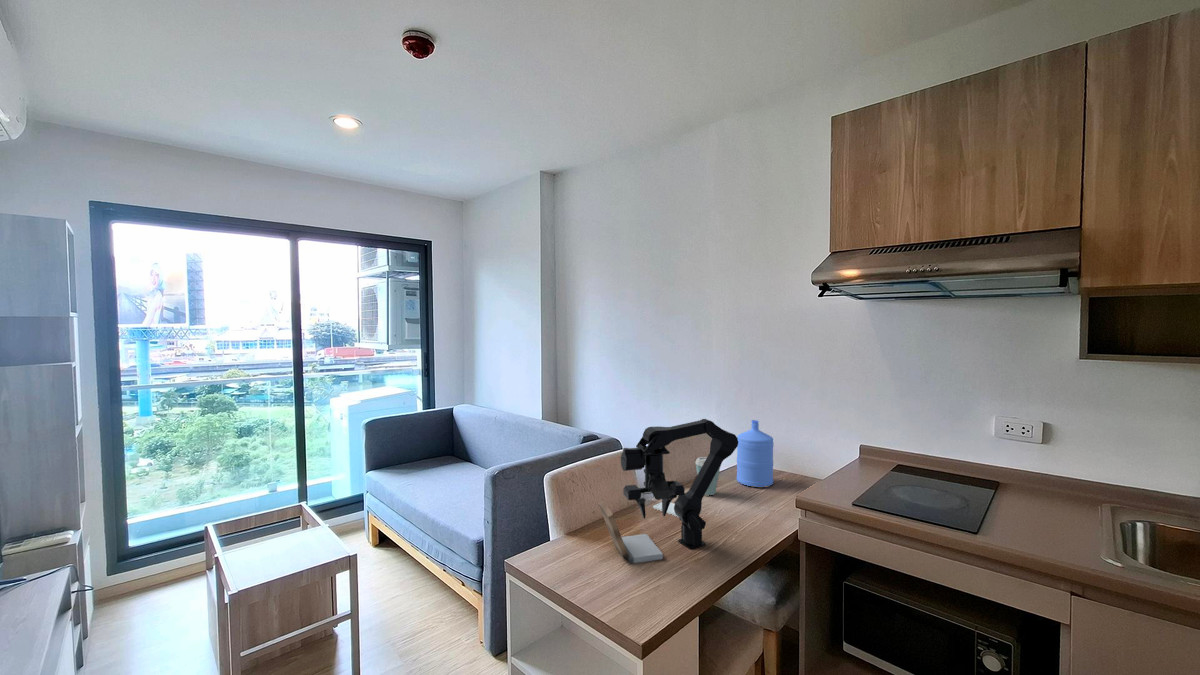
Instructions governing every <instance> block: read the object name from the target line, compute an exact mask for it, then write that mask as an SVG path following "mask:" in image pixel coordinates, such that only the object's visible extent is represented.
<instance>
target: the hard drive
mask: <svg viewBox="0 0 1200 675" xmlns="http://www.w3.org/2000/svg"><path fill="white" fill-rule="evenodd" d="M674 506H675V503H674V502H672V501H671V502H670V504H669V507H668V510H667V512H666V514H667V513H668V515H670V514H672V515H671V516H673V515H674V516H673V517H676V516H677V515H676V514H675V511H674ZM653 508H654V509H653ZM652 509H653V510H655V509H657V510H656V511H658V510H660V511H659V512H661V511H662V501H661V502H659V503H657V504H654V505H652ZM676 518H679V517H678V516H677V517H676Z"/></svg>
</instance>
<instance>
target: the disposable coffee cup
mask: <svg viewBox="0 0 1200 675" xmlns="http://www.w3.org/2000/svg"><path fill="white" fill-rule="evenodd" d="M707 457H708V456H700V457H697V458H696V460H695V463H694V464H695V467H696V476H697V475H698V473H699V471H700V469H701V468H702V466H703V464H704V462H705V460H706V459H707ZM721 467H722V464H721V465H720V467H719V469H718V471H717V473H716V475H715V476H714V478H713V480H712V482H711V484H710V486H709V487H708V489H707V491H706V493H705V495H708V496H707V497H710V496H709V495H714V494H715V495H716V492H717V486H718V482H719V481H718V480H719V475H720V471H721V470H720V469H721ZM715 495H714V496H715Z"/></svg>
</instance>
